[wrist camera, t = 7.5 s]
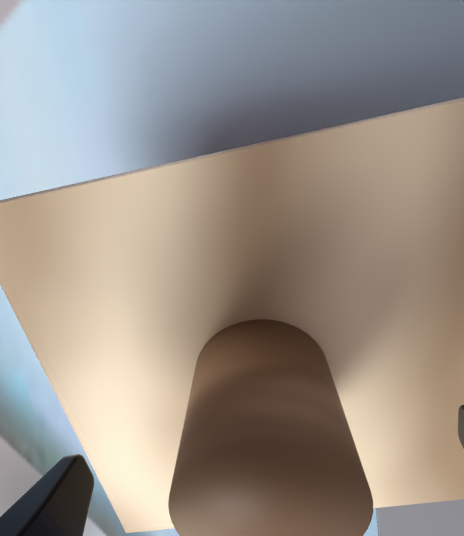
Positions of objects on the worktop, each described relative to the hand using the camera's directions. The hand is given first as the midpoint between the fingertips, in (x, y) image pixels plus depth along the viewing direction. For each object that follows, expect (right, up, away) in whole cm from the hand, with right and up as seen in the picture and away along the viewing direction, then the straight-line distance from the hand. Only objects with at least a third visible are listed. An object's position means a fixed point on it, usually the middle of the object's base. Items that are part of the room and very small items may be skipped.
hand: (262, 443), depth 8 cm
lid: (0, +1, +3) cm, 3 cm away
